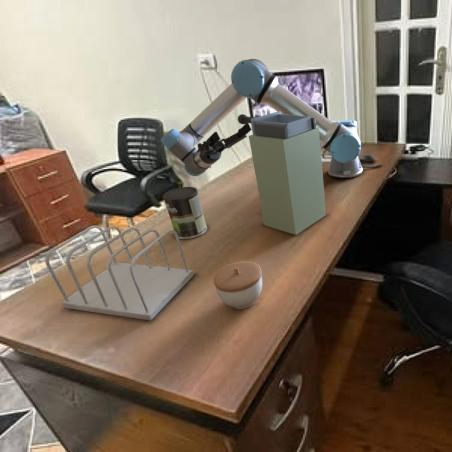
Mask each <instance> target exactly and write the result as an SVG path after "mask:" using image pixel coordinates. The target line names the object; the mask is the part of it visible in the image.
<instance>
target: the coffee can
mask: <svg viewBox="0 0 452 452" xmlns="http://www.w3.org/2000/svg"><path fill="white" fill-rule="evenodd" d="M162 199H163V201H164V205H165V207H166V209H167V213H168V216H169V219H170V222H171V225H172V230H174V231H175V232H176V233H177V235H178V237H179V240H180V239H181V240H190V239H194V238H198V237H199V236H200V237H201V236H202V235H204V233H206V232H207V230H208V226H207V223H206V219H205V215H204V211H203V208H202V205H201V200H200V197H199V193H198V188H196V187H194V186H182V187H176V188H173V189H170V190H168V191H166V192H165V193H163V195H162Z"/></svg>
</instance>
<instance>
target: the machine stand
mask: <svg viewBox="0 0 452 452" xmlns="http://www.w3.org/2000/svg"><path fill="white" fill-rule="evenodd" d="M311 126H312V129H311V130H308V131H306V132H303V133H300V134H297V135H294V136H292V137H289V138H288V132H287V127H282V126H273V125H263V124H255V131H256V134H253V133H252V134H250V135H248V142H249V146H250V153H251V157H252V163H253V168H254V174H255V178H256V184H257V189H258V195H259V201H260V207H261V213H262V219H263V223H264V226H266V227H269V228H272V229H275V230H279V231H281V232H284V233H288V234H290V235H294V236H297V235H298V234H300V233H301V232H304V230H306V229H307V228H309V227H311V226H313V225H314V224H315V223H316V222H318V221H320V220H321V219H322V218H324V217H326V216H327V209H326V208H327V207H326V197H325V184H324V173H323V160H322V151H321V150H322V147H321V143H320V136H319V128H317V127H316V119H315V118H312V117H311Z"/></svg>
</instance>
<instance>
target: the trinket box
mask: <svg viewBox="0 0 452 452" xmlns="http://www.w3.org/2000/svg"><path fill="white" fill-rule="evenodd" d="M213 284H214V287H215V290H216V292H217V294H218V297H219V298H220V299H221V301H222V302H223V303H224V304H225V305H227V306H229V307H232V308H234V309H237V310H242V309H246V308H249V307H251V306H253V305H254V304H255V303H256V301H257V300H258V298H260V296H261V294H262V291H263V276H262V268H261V266H260V265H259V264H258V263H256V262H253V261H249V260H240V261H235V262H231V263H229V264H228V263H227V264H226V265H224V266H223V267H221V268H219V269H218V271H216V273H214V276H213Z"/></svg>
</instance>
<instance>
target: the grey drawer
mask: <svg viewBox="0 0 452 452" xmlns="http://www.w3.org/2000/svg"><path fill="white" fill-rule="evenodd" d="M237 122H238V124H240V125H245V124H246V123H248V124H251V129H252V130H251V131H252V135H253V134H256V131H255V124H263V125H273V126H282V127H287V132H288V138H289V137H292V136H294V135H297V134H300V133H303V132H306V131H308V130H311V129H312V126H311V116H298V115H285V114H281V111H278V112H277V111H274V112H271V113H268V114H264V115H260V116H247V115H246V114H244V113H241V114H239V115H238V116H237Z"/></svg>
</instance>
